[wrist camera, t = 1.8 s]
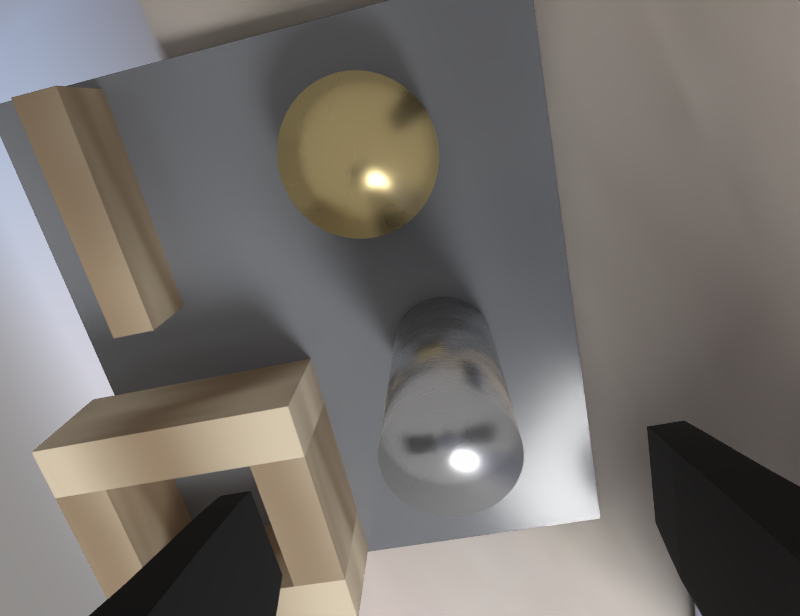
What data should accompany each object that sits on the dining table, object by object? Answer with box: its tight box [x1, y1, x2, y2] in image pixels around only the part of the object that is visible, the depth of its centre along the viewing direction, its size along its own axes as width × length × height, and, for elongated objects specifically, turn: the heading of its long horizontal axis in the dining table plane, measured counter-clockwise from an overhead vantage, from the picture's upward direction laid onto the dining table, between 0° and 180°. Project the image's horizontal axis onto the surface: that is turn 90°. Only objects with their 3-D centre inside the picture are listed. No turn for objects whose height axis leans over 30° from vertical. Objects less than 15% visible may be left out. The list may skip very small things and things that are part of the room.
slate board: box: [0, 0, 600, 551], centre depth 17 cm, size 15×17×1 cm
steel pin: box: [378, 297, 524, 517], centre depth 14 cm, size 3×3×6 cm
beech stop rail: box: [12, 86, 184, 338], centre depth 15 cm, size 1×6×2 cm, turn 13°
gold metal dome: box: [277, 70, 439, 239], centre depth 14 cm, size 4×4×2 cm
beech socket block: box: [32, 359, 368, 616], centre depth 18 cm, size 8×8×3 cm
